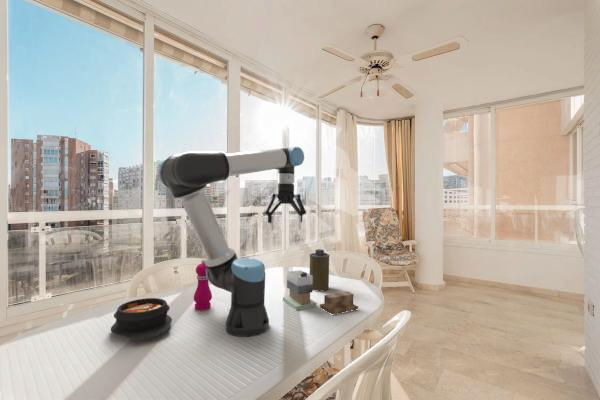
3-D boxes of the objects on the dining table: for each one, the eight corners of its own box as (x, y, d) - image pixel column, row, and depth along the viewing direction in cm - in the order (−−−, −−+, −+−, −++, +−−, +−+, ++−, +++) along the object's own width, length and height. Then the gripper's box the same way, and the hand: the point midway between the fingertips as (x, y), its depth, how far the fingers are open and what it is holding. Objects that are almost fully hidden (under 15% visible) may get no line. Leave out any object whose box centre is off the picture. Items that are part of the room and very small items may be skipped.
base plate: (286, 287, 134) (286, 279, 134) (300, 285, 137) (300, 277, 137) (298, 294, 124) (298, 286, 124) (312, 292, 127) (312, 284, 127)
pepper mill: (189, 308, 121) (190, 260, 122) (202, 303, 128) (203, 257, 128) (202, 312, 118) (203, 262, 118) (215, 306, 125) (216, 259, 125)
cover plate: (286, 279, 134) (287, 269, 134) (300, 277, 137) (300, 267, 137) (298, 286, 124) (298, 274, 124) (312, 284, 127) (312, 273, 127)
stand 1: (295, 310, 122) (296, 295, 122) (282, 300, 134) (283, 287, 134) (316, 306, 127) (316, 292, 127) (302, 297, 139) (302, 284, 139)
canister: (321, 292, 146) (322, 252, 146) (304, 288, 153) (305, 249, 153) (333, 287, 155) (333, 249, 155) (316, 284, 161) (317, 247, 161)
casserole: (103, 324, 105) (103, 301, 105) (158, 312, 118) (159, 291, 118) (120, 352, 87) (120, 323, 87) (183, 333, 99) (184, 308, 99)
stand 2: (331, 315, 118) (332, 300, 118) (320, 307, 125) (320, 293, 125) (357, 310, 124) (358, 295, 124) (345, 303, 132) (345, 289, 132)
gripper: (263, 181, 127) (262, 231, 127) (313, 184, 138) (312, 229, 138) (257, 182, 133) (256, 229, 133) (306, 184, 145) (305, 228, 145)
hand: (285, 229), depth 136 cm, fingers open, 13 cm apart
